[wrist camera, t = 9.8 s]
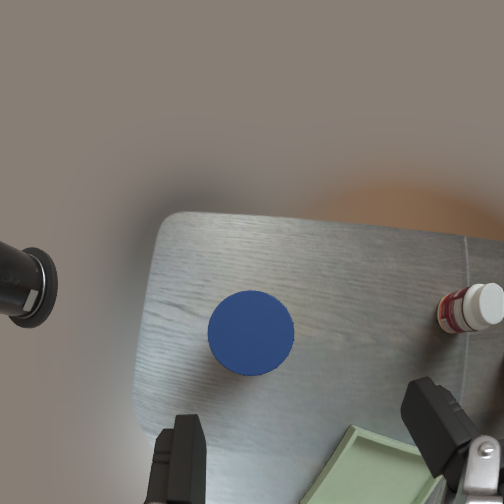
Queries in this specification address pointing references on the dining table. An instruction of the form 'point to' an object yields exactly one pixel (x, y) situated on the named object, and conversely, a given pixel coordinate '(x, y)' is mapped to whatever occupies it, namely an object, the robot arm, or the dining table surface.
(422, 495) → the tray
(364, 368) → the dining table surface
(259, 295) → the lid
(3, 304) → the robot arm
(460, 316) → the pill bottle
